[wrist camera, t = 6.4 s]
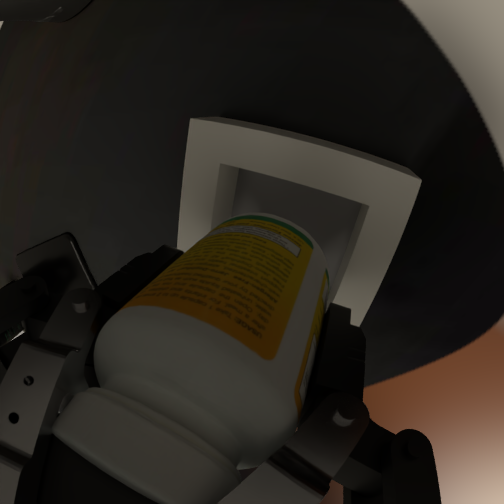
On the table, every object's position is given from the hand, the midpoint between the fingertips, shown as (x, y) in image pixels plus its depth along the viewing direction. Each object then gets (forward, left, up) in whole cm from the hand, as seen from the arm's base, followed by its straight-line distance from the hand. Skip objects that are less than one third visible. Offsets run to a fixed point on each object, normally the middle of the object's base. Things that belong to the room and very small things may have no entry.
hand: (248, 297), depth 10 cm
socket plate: (0, 0, -7) cm, 7 cm away
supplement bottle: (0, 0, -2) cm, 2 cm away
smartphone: (+13, -23, -7) cm, 27 cm away
